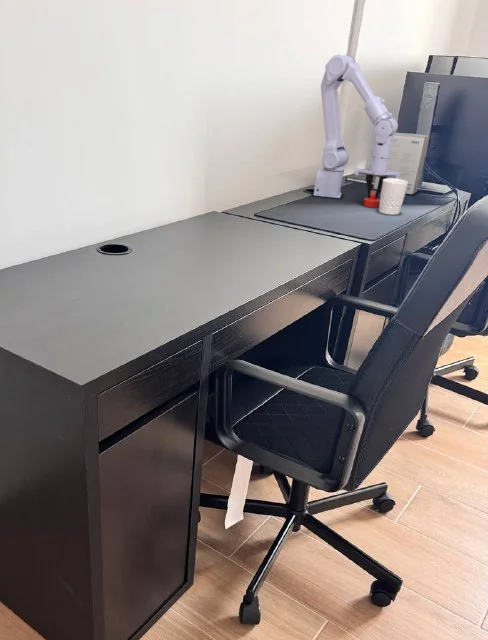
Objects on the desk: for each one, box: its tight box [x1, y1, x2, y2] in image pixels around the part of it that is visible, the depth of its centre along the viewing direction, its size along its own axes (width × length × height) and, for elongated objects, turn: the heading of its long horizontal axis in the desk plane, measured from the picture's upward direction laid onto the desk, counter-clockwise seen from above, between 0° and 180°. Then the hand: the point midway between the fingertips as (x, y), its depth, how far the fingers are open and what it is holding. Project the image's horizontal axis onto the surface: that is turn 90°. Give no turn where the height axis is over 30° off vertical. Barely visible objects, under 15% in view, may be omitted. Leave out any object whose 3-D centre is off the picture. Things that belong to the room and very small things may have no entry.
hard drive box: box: [372, 132, 430, 195], centre depth 217 cm, size 16×8×20 cm, turn 58°
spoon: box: [363, 190, 380, 208], centre depth 202 cm, size 13×5×3 cm, turn 163°
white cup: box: [378, 178, 408, 216], centre depth 189 cm, size 8×8×10 cm
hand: (372, 198), depth 202 cm, fingers closed on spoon, 2 cm apart
